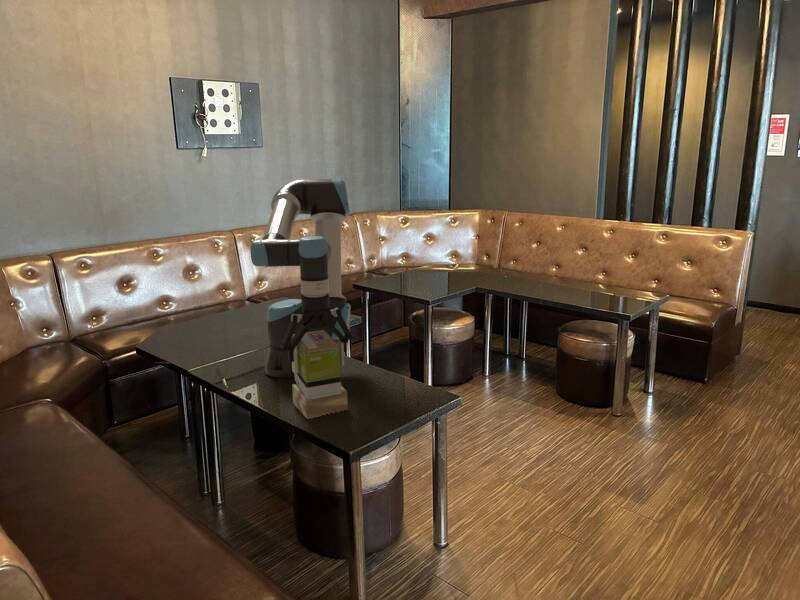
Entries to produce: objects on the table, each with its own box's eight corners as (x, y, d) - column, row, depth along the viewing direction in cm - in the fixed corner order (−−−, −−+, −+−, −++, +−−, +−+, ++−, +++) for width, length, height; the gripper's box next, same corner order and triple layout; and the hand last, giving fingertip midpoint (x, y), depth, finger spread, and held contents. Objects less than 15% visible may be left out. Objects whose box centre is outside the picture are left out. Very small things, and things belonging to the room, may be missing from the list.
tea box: (293, 381, 174) (290, 333, 171) (327, 376, 178) (324, 328, 175) (306, 400, 161) (304, 348, 157) (342, 394, 165) (340, 343, 161)
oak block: (293, 404, 174) (292, 384, 172) (332, 395, 179) (331, 377, 178) (307, 420, 164) (305, 399, 162) (347, 410, 169) (347, 390, 167)
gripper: (273, 302, 154) (278, 380, 159) (363, 291, 165) (364, 364, 170) (266, 296, 161) (271, 371, 166) (352, 286, 172) (354, 356, 177)
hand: (318, 368), depth 168 cm, fingers open, 13 cm apart
